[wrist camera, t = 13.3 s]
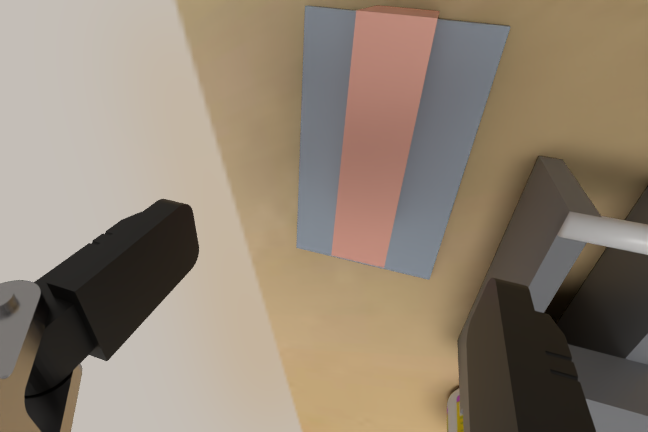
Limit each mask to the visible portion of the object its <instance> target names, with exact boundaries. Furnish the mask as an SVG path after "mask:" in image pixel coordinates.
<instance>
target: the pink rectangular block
mask: <svg viewBox="0 0 648 432" xmlns="http://www.w3.org/2000/svg"><path fill="white" fill-rule="evenodd" d="M438 16H439V11H433V10H423V9H412V8H401V7H391V6H380V5H376V6H372V7H368V8H364V9H360V10H356V18H355V28H354V38H353V48H352V57H351V67H350V77H349V87H348V97H347V106H346V116H345V126H344V136H343V146H342V155H341V165H340V175H339V185H338V195H337V204H336V214H335V224H334V234H333V244H332V253H331V255H332V256H336V257H341V258H345V259H349V260H353V261H357V262H362V263H366V264H370V265H374V266H378V267H383V268H384V266H385V261H386V257H387V252H388V248H389V243H390V238H391V234H392V229H393V225H394V220H395V216H396V211H397V206H398V202H399V197H400V192H401V188H402V183H403V178H404V174H405V169H406V164H407V160H408V155H409V150H410V146H411V141H412V137H413V132H414V127H415V123H416V118H417V113H418V109H419V104H420V99H421V95H422V90H423V85H424V81H425V76H426V71H427V67H428V62H429V58H430V53H431V48H432V44H433V39H434V34H435V30H436V25H437V20H438Z"/></svg>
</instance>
